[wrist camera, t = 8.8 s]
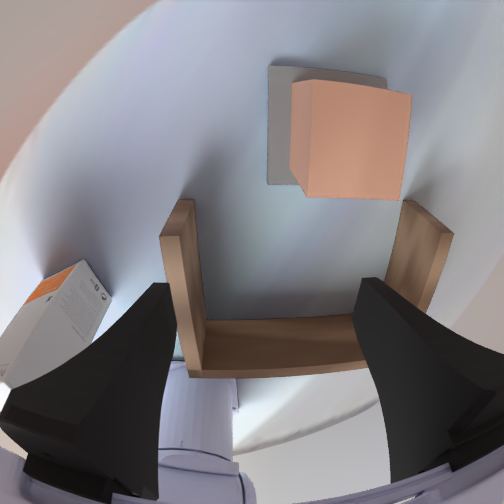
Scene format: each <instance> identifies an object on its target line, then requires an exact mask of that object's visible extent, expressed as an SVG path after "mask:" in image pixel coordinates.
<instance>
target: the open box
mask: <svg viewBox="0 0 504 504" xmlns="http://www.w3.org/2000/svg"><path fill="white" fill-rule="evenodd" d="M453 235H454V233H453V232H452V231H451V230H450V229H448V228H447V227H446V226H445V225H444V224H443V223H441V222H440V221H439V220H438V219H437V218H435V217H434V216H433V215H432V214H430V213H429V212H428V211H427V210H425V209H424V208H423V207H422V206H420V205H419V204H418V203H417V202H415V201H407V200H403V204H402V209H401V214H400V219H399V224H398V229H397V233H396V238H395V242H394V246H393V250H392V254H391V258H390V262H389V266H388V270H387V274H386V277H385V281H384V283H385V284H387V285H388V286H389V287H391V288H392V289H393V290H395V291H396V292H397V293H399V294H400V295H401V296H402V297H404V298H405V299H406V300H408V301H409V302H410V303H412V304H413V305H414V306H416V307H417V308H418V309H420V310H421V311H422V312H424V313H425V314H426V311H427V309H428V307H429V304H430V302H431V299H432V297H433V294H434V292H435V289H436V286H437V284H438V281H439V278H440V275H441V273H442V270H443V267H444V264H445V261H446V258H447V255H448V252H449V248H450V245H451V242H452V238H453ZM159 240H160V246H161V252H162V257H163V263H164V269H165V274H166V279H167V283H169V284H170V289H171V295H172V300H173V305H174V310H175V315H176V320H177V331H178V335H179V339H180V344H181V348H182V352H183V356H184V360H185V364H186V367H187V371H188V375H189V378H208V379H236V378H268V377H286V376H300V375H312V374H322V373H332V372H340V371H348V370H356V369H363V368H368V365H367V363H366V360H365V358H364V355H363V353H362V350H361V348H360V345H359V343H358V340H357V336H356V333H355V329H354V325H353V321H352V316H353V314H348V315H336V316H321V317H305V318H285V319H259V320H207V317H206V310H205V302H204V294H203V286H202V277H201V269H200V260H199V250H198V240H197V230H196V219H195V208H194V199H184V200H178V201H177V203H176V205H175V206H174V208H173V210H172V212H171V214H170V216H169V218H168V220H167V222H166V224H165V226H164V228H163V230H162V232H161V234H160V236H159Z"/></svg>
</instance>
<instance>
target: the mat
mask: <svg viewBox="0 0 504 504" xmlns="http://www.w3.org/2000/svg"><path fill="white" fill-rule="evenodd" d="M311 79H316V80H326V81H335V82H343V83H350V84H357V85H364V86H370V87H376V88H381V89H386V90H387V79H386V78H381V77H376V76H370V75H364V74H358V73H352V72H345V71H337V70H329V69H319V68H308V67H294V66H271V65H269V66H268V153H267V183H268V185H299V183H298V181H297V180H296V178H295V177H294V175H293V173H292V172H291V170H290V169H289V163H290V135H291V97H292V83H295V82H300V81H306V80H311Z"/></svg>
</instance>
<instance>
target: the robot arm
mask: <svg viewBox="0 0 504 504" xmlns="http://www.w3.org/2000/svg"><path fill="white" fill-rule="evenodd" d="M352 321H353V325H354V329H355V333H356V336H357V340H358V343H359V345H360V348H361V350H362V353H363V355H364V358H365V360H366V363H367V365H368V368H369V370H370V373H371V375H372V378H373V380H374V383H375V386H376V389H377V392H378V395H379V399H380V403H381V407H382V412H383V416H384V422H385V427H386V433H387V440H388V448H389V457H390V471H391V484H388V485H385V486H381V487H378V488H374V489H370V490H367V491H362V492H358V493H354V494H349V495H345V496H340V497H335V498H329V499H323V500H317V501H310V502H304V503H294V504H393V503H397V502H399V501H403V500H405V499H408V498H411V497H414V496H415V498H414V499H411V500H409V501H407V502H404V503H402V504H502V503H503V502H504V354H501V353H498V352H496V351H493V350H491V349H488V348H485V347H483V346H481V345H478V344H476V343H474V342H472V341H470V340H468V339H466V338H464V337H462V336H460V335H458V334H456V333H455V332H453V331H451V330H450V329H448V328H446V327H445V326H443V325H441V324H440V323H438V322H437V321H435V320H434V319H432V318H431V317H430V316H428V315H427V314H425V313H424V312H422V311H421V310H420V309H418V308H417V307H416V306H414V305H413V304H412V303H410V302H409V301H408V300H406V299H405V298H404V297H402V296H401V295H400V294H399V293H397V292H396V291H395V290H393V289H392V288H391V287H389V286H388V285H387V284H385V283H384V282H383V281H381V280H380V279H378V278H376V277H372V278H362V281H361V285H360V289H359V293H358V297H357V301H356V305H355V309H354V312H353V316H352ZM176 332H177V320H176V315H175V310H174V305H173V300H172V295H171V289H170V284H169V283H153V284H152V285H151V286H150V287H149V288H148V289H147V290H146V291H145V292H144V293H143V294H142V295H141V296H140V298H139V299H138V300H137V301H136V302H135V303H134V304H133V305H132V306H131V307H130V308H129V309H128V310H127V311H126V312H125V313H124V314H123V316H122V317H120V318H119V319H118V320H117V321H116V322H115V323H114V324H113V325H112V326H111V327H110V328H109V329H108V330H107V331H106V332H105V333H104V334H102V335H101V336H100V337H99V338H98V339H97V340H95V341H94V342H93V343H92V344H90V345H89V346H88V347H87V348H85V349H84V350H83V351H81V352H80V353H78V354H77V355H75V356H74V357H72V358H71V359H69V360H68V361H67V362H65V363H64V364H62V365H60V366H59V367H57V368H55V369H54V370H52V371H50V372H48V373H46V374H44V375H43V376H41V377H39V378H37V379H35V380H32V381H30V382H28V383H26V384H23V385H21V386H19V387H16V388H14V389H11V391H10V393H9V395H8V397H7V400H6V402H5V404H4V406H3V408H2V411H1V413H0V427H1V429H2V430H3V431H4V432H5V433H6V434H7V435H8V436H9V437H10V438H11V439H12V440H13V441H14V442H16V443H17V444H18V445H19V446H20V447H21V448H23V449H24V450H25V451H26V452H27V453H28V456H27V459H26V460H25V459H24V458H22V457H21V456H19V455H17V454H15V453H13V452H11V451H8V450H6V449H4V448H2V447H1V446H0V504H256V493H255V488H254V485H253V482H252V481H251V480H250V479H249V477H248V476H247V475H246V474H245V473H243V472H239V463H238V462H233V447H232V414H238V412H239V410H238V397H237V385H236V379H208V378H189V375H188V371H187V367H186V364H185V362H183V361H172V357H173V353H174V348H175V341H176ZM416 495H417V496H416Z"/></svg>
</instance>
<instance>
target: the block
mask: <svg viewBox="0 0 504 504" xmlns="http://www.w3.org/2000/svg"><path fill="white" fill-rule="evenodd" d="M411 101H412V95H410V94H405V93H401V92H396V91H391V90H386V89H381V88H376V87H370V86H364V85H357V84H350V83H343V82H335V81H326V80H316V79H311V80H306V81H300V82H295V83H292V97H291V135H290V163H289V169H290V170H291V172H292V173H293V175H294V177H295V178H296V180H297V181H298V183H299V185H300V186H301V188H302V190H303V191H304V193H305V195H306V196H307V197H317V198H354V199H378V200H397V201H399V198H400V192H401V186H402V180H403V174H404V167H405V160H406V153H407V144H408V136H409V126H410V115H411Z"/></svg>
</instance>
